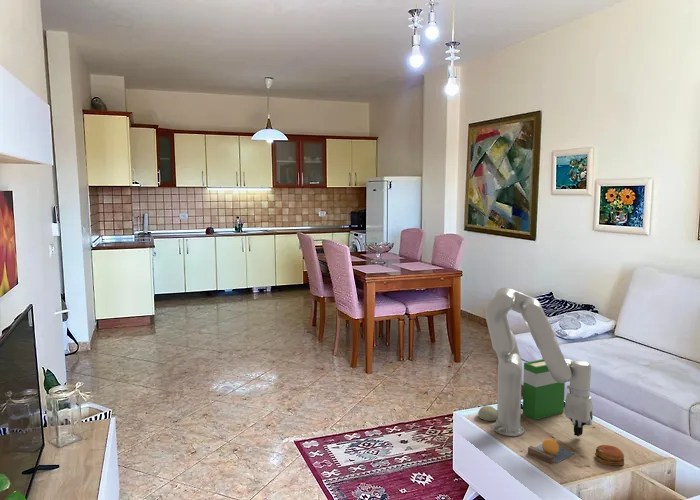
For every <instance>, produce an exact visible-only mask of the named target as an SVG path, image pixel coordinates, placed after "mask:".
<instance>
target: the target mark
mask: <svg viewBox="0 0 700 500" xmlns="http://www.w3.org/2000/svg"><path fill="white" fill-rule="evenodd" d="M542 444H543V442H542V443H541V444H538V445H537V446H534V447H535V448H537V449H540V450H542V451H544V450H543V448H542ZM573 455H575V453H574V452H572V451H570V450H567V449H565V448H562V447H560V446H559V451H558V453H557V454H555V455H553V456H555V459H554V463H555V464H559V463H560V462H563V461H564V460H566V459H567V458H569V457H571V456H573Z"/></svg>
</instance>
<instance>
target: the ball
mask: <svg viewBox="0 0 700 500" xmlns="http://www.w3.org/2000/svg"><path fill="white" fill-rule="evenodd" d="M542 443H543V444H542ZM542 443H541V444H542V448H543V450H544V452H546V453H549V454H551V455H555V454H557V453H558V451H559V447H560V446H559V444H558V442H557V440H555V439H553V438H545V439H544V440H543V441H542Z"/></svg>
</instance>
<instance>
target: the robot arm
mask: <svg viewBox="0 0 700 500" xmlns="http://www.w3.org/2000/svg"><path fill="white" fill-rule="evenodd" d="M510 311H513V312H516V313H519V314H521V316H522V319H523V321H524V322H525V325H526V327H527V328H528V330H529V333H530V335H531V337H532V340H533V342H535V345H536V348H537V350H539V351H538V352H539V353H540V355H541V357H542V359H544V361H545V363H546V365H547V367H548V369H549V371H550V373H551V375H552V377H553V379H554V380H555V381H557V382H559V383H565V384H566V383H567V382H569V384H567V386H566V388H567V389H568V392H567V393H566V396H565V397H566V398H565V400H564V412H563V414H564V415H565V417H566V418H567V419H568V420H570V421H571V423H572V425H573V435H574V436H576V437H581V436H582V435H583V434H584V433H583V431H584V426H591V425H593V421H592V420H593V417H594V410H593V409H594V407H593V406H594V405H593V400H592V399H593V398H592V396H590V395H591V375H592V374H591V373H592V372H591V371H592V366H591V364H590V363H589V362H588V361H585V360H573V359H568V358H565V357H564V354H563V352H562V351H561V348H560V345H559V342H558V338H557V336H556V333H555V332H554V329H553V328H552V325H551V322H550V321H549V320H548V318H547V315H546V313H545V312H544V309H543V307H542V304H541V302H540V300H538V299H537V298H535V297H532V296H529V295H526V294H524V293H522V292H521V291H517V290H515V289H512V288H509V287H501V288H498V289H497V291H496V292H495V294H494V297H493V298H492V299H491V300H490V301H489V303H488V304H487V306H486V308H485V321H486V324H487V328H488V333H489V337H490V341H491V345H492V349H493V351H494V352H495V353H496V357H497V361H498V365H497V404H496V405H497V407H496V408H497V409H496V410H497V420H495V422H494V423H493V424H492V425H491V426H490V430H491V431H495V432H496V433H497V434H500V435H503V436H507V437H517V436H518V437H519V436H521V435H523V434H524V433H525V428H524V426H523V425H521V418H522V417H521V416H522V414H521V413H522V411H521V410H522V381H523V365H522V358H521V355H520V352H519V347H518V343H517V340H516V337H515V334H514V333H513V331H512V330H511V329H510V325H509V324H510V323H509V321H508V317H507V315H508V313H509V312H510Z"/></svg>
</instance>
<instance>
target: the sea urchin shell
mask: <svg viewBox="0 0 700 500" xmlns="http://www.w3.org/2000/svg"><path fill="white" fill-rule="evenodd" d="M477 414H478V417H479V418H480V419H481V420H483V421H486V422H493V421H496V420H497V409H496V408H495V407H493V406H491V405H485V406H481V407H480V408H479V410H478V412H477Z"/></svg>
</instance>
